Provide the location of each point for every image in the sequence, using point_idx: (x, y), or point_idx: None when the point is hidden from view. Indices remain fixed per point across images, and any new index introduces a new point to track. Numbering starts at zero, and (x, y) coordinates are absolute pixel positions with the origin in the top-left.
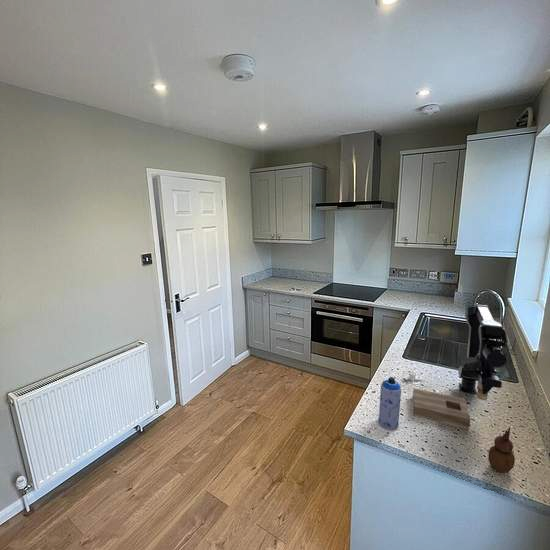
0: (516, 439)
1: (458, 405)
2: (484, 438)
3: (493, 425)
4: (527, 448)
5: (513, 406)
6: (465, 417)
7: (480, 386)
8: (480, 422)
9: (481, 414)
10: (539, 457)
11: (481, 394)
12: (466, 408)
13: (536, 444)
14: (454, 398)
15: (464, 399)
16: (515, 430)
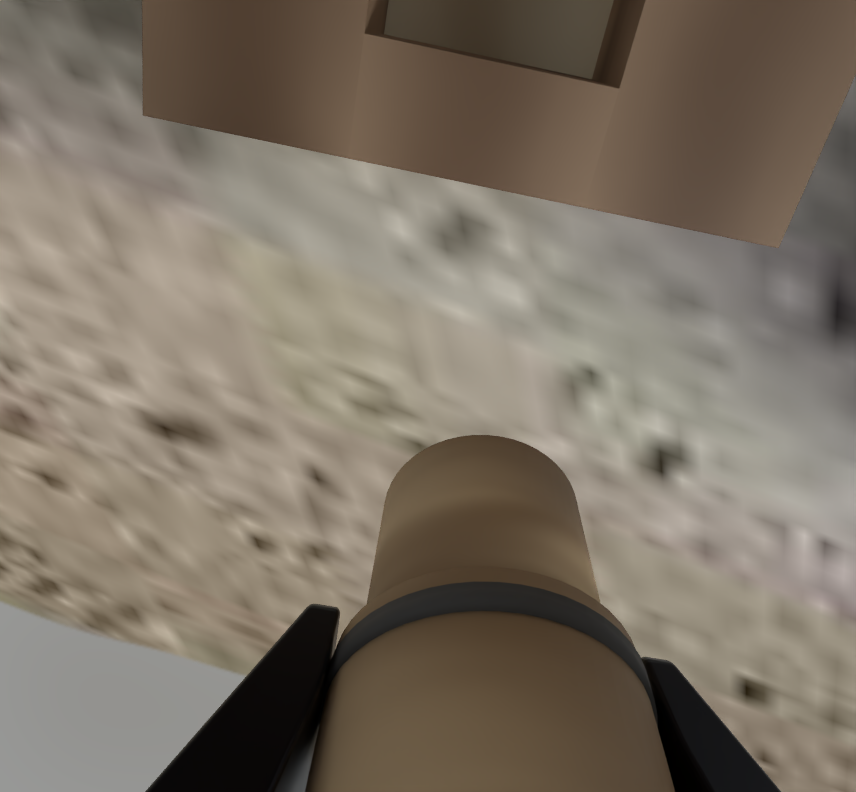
0: (223, 535)
1: (613, 68)
2: (103, 235)
3: (393, 429)
4: (125, 562)
5: (759, 722)
6: (164, 36)
7: (364, 738)
8: (415, 310)
9: (587, 386)
10: (44, 591)
11: (389, 556)
12: (464, 164)
13: (214, 643)
14: (797, 34)
15: (758, 236)
16: (365, 583)
